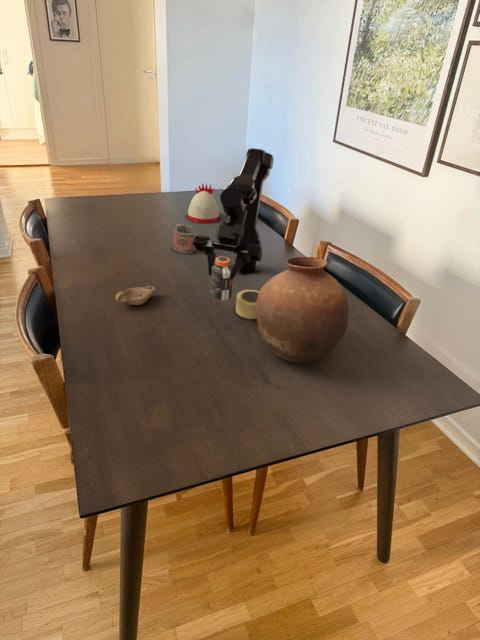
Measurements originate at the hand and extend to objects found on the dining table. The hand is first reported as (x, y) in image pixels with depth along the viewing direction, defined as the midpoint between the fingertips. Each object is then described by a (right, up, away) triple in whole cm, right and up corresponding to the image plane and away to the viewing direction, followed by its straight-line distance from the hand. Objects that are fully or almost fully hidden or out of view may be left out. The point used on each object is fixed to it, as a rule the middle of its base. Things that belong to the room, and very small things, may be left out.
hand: (220, 277), depth 120 cm
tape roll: (+8, -9, +12) cm, 17 cm away
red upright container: (-16, +14, +46) cm, 50 cm away
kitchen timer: (-11, +34, +78) cm, 86 cm away
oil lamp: (-25, -6, +11) cm, 29 cm away
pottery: (+20, -20, -3) cm, 28 cm away
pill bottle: (0, -5, +5) cm, 7 cm away
